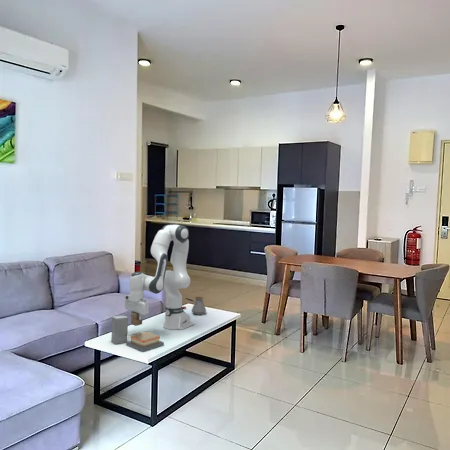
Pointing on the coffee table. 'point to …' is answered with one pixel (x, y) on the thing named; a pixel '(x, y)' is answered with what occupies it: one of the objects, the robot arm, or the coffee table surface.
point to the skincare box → (119, 329)
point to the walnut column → (135, 319)
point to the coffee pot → (198, 306)
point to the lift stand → (144, 341)
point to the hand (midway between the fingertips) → (136, 318)
